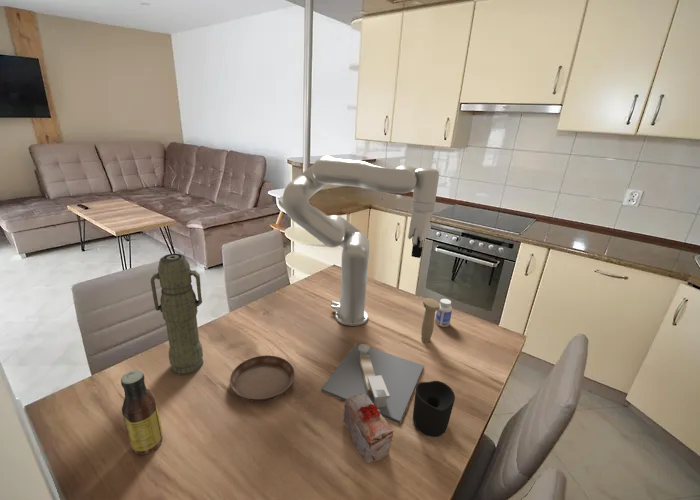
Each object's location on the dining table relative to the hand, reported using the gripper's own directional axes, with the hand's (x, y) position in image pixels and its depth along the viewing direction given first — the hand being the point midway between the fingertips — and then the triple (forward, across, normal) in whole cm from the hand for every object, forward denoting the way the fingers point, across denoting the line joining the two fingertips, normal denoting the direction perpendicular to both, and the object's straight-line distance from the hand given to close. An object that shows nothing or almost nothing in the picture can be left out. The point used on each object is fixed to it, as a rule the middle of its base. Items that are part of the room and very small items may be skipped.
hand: (416, 256), depth 122 cm
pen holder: (+27, +43, +19) cm, 54 cm away
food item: (+27, +55, +6) cm, 62 cm away
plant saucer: (+28, +52, -27) cm, 65 cm away
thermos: (+27, +57, -51) cm, 81 cm away
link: (+26, +36, -1) cm, 45 cm away
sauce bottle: (+27, +80, -37) cm, 92 cm away
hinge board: (+27, +35, 0) cm, 44 cm away
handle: (+27, +8, +9) cm, 30 cm away
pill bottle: (+27, -6, +12) cm, 30 cm away
